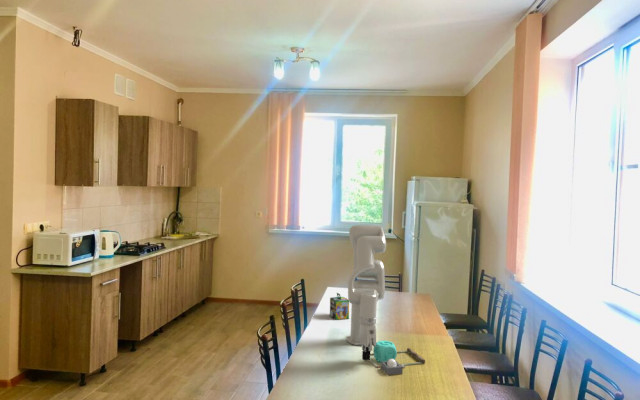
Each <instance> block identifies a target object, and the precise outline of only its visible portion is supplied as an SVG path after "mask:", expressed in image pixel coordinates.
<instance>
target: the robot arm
mask: <svg viewBox="0 0 640 400" xmlns="http://www.w3.org/2000/svg"><path fill="white" fill-rule="evenodd" d="M384 231H385V230H384V229H383V226H381V225H372V224H370V225H368V224H367V225H366V224H365V225H364V224H356V225H352V226H351V227H350V228H349V231H348V233H349V234H348V235H349V241H350V244H351V247H352V250H353V271H352V273H350V276H349V278H348V282H347V299H348V300H349V304H351V311H350V312H351V316H350V336H348V337H347V339H346V340H347V342H348V343H349V344H350V345H354V346H360V347H361V348H362V349H361V350H362V352H361V353H362V355H361V357H362V358H361V359H362V360H363V361H370V359H371V356H370V354H371V352H373V348H374V347H376V343H377V328H376V325H377V304H378V303H377V302H378V301H379V300H380V301H381V300H383V299H384V298H385V293H386V290H385V289H386V281H385V274H386V273H385V265H384V263H383V261H382V260H380V259H375V254H384V253H385V252H386V250H387V238H386V236H385V232H384ZM357 278H363V280H362V279H359V280H357ZM364 279H374V280H364Z"/></svg>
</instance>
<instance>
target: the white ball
mask: <svg viewBox="0 0 640 400" xmlns="http://www.w3.org/2000/svg"><path fill="white" fill-rule="evenodd" d="M395 360H396V359H395ZM395 360H394V359H389V360H388V362H387V366H388V367H395V366H397V364H396V361H395Z"/></svg>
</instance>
